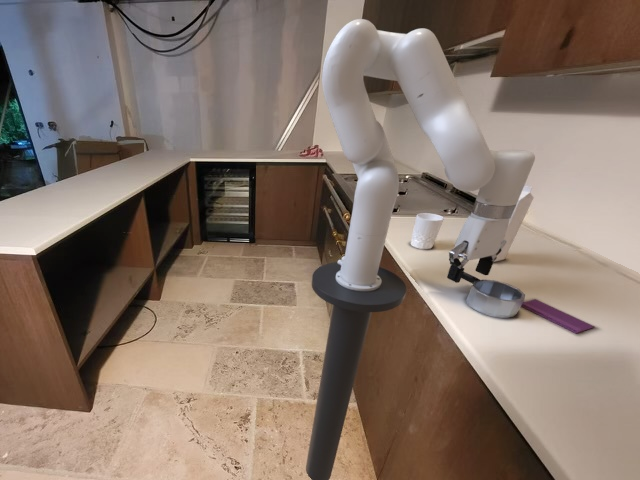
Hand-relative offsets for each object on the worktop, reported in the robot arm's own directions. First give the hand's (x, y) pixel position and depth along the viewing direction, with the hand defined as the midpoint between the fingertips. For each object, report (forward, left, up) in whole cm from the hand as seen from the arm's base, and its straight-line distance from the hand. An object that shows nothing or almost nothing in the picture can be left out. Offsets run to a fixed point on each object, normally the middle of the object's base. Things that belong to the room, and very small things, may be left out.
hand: (467, 276), depth 82 cm
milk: (-12, +26, -4) cm, 28 cm away
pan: (+6, 0, -4) cm, 7 cm away
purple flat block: (+16, +9, -4) cm, 19 cm away
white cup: (-27, +14, -4) cm, 30 cm away
